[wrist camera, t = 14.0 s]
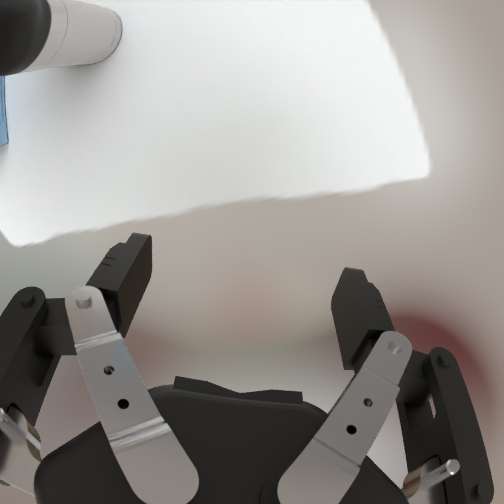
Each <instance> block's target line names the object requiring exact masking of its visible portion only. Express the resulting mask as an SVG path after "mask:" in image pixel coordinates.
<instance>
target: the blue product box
mask: <svg viewBox="0 0 504 504" xmlns="http://www.w3.org/2000/svg"><path fill="white" fill-rule="evenodd" d="M7 143H8V138H7V128H6V116H5V101H4V76H0V146H2V145H4V144H7Z"/></svg>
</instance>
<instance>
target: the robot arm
mask: <svg viewBox="0 0 504 504" xmlns="http://www.w3.org/2000/svg"><path fill="white" fill-rule="evenodd" d="M121 33H122V26H121V21H120V19H119V17H118V15H117V14H116V13H115V12H113V11H112V10H110V9H107V8H103V7H100V6H96V5H93V4H89V3H85V2H80V1H76V0H0V76H7V75H12V74H17V73H22V72H28V71H33V70H40V69H47V68H54V67H63V66H72V65H84V64H94V63H98V62H100V61H102V60H104V59H106V58H107V57H108V56H109V55H110V54H111V53H112V52H113V51H114V50H115V48H116V47H117V45H118V43H119V41H120V37H121ZM151 273H152V237H151V235H146V234H140V233H132V235H131V236H130V237H129V239H128V241H127V242H126V243H118V244H117V245H115V246H113V247H112V248H111V249H110V250H109V251H108V253H107V254H106V255H105V258H103V260H102V262H101V264H99V266H98V267H97V269H96V270H95V272H94V273H93V275H92V276H91V278H90V279H89V281H88V282H87V284H86V285H85V286H80V287H77V288H75V289H73V290H71V291H70V292H69V293H68V294H67V296H66V298H55V299H46V297H45V294H44V292H43V291H42V290H41V289H40V288H37V287H26V288H24V289H21V290H20V291H18V292H17V293H16V294H15V295H14V296H13V298H12V300H11V301H10V302H9V304H8V305H7V307H6V308H5V310H4V311H3V313H2V315H1V316H0V484H2V485H6V486H9V485H12V486H14V487H16V488H18V489H21V490H23V491H25V492H27V493H29V494H31V495H33V496H35V498H36V502H37V504H490V503H491V501H492V499H493V495H494V486H493V481H492V476H491V471H490V467H489V463H488V458H487V454H486V450H485V446H484V442H483V439H482V435H481V431H480V428H479V425H478V421H477V418H476V415H475V411H474V408H473V405H472V402H471V399H470V396H469V393H468V390H467V387H466V385H465V382H464V379H463V377H462V374H461V371H460V368H459V366H458V363H457V361H456V359H455V357H454V356H453V355H452V354H451V352H449V351H448V350H446V349H444V348H442V347H435V348H433V349H432V350H431V351H430V353H429V354H428V355H426V354H424V353H421V352H418V351H415V350H412V346H411V344H410V342H409V341H408V339H407V338H406V337H404V336H403V335H402V334H400V333H398V332H395V329H394V327H393V324H392V322H391V319H390V316H389V314H388V311H387V309H386V306H385V304H384V302H383V299H382V297H381V294H380V292H379V290H378V289H377V288H376V287H375V286H374V285H373V284H372V283H369V282H368V281H367V278H366V276H365V273H364V271H363V270H361V269H354V268H348V267H346V268H344V270H343V272H342V274H341V277H340V279H339V282H338V284H337V287H336V289H335V291H334V294H333V296H332V301H331V310H332V315H333V319H334V323H335V328H336V333H337V338H338V342H339V347H340V352H341V357H342V362H343V367H344V370H354V372H355V375H354V376H353V378H352V379H351V381H350V382H349V384H348V385H347V387H346V388H345V390H344V391H343V393H342V394H341V395H340V397H339V398H338V400H337V401H336V403H335V404H334V406H333V407H332V408H331V410H330V411H329V412H328V413H326V412H324V411H323V410H321V409H320V408H318V407H316V406H315V405H313V404H310V403H308V402H304V401H303V398H302V392H297V391H284V390H265V391H255V392H246V393H238V392H234V391H232V390H229V389H226V388H223V387H221V386H218V385H215V384H213V383H210V382H207V381H202V380H195V379H190V378H185V377H179V376H176V377H175V381H174V385H163V386H158V387H154V388H151V389H149V390H147V389H146V387H145V385H144V383H143V381H142V379H141V377H140V375H139V373H138V371H137V369H136V367H135V364H134V362H133V360H132V358H131V356H130V354H129V352H128V349H127V347H126V345H125V343H124V341H123V339H122V338H125V336H126V334H127V332H128V329H129V326H130V324H131V322H132V320H133V317H134V315H135V313H136V310H137V308H138V306H139V303H140V301H141V299H142V297H143V294H144V292H145V290H146V288H147V285H148V283H149V281H150V278H151ZM61 355H77V356H78V359H79V363H80V366H81V369H82V372H83V375H84V378H85V381H86V384H87V387H88V390H89V393H90V395H91V398H92V401H93V403H94V406H95V408H96V411H97V414H98V416H99V419H100V421H99V422H98V423H96V424H95V425H93V426H92V427H90V428H88V429H87V430H86V431H84V432H82V433H81V434H79V435H78V436H76V437H75V438H73V439H71V440H70V441H68V442H67V443H65V444H64V445H62V446H60V447H59V448H57V449H56V450H54V451H52V452H51V453H50V454H48V455H47V456H46V457H45V458H44V459H43V460H42V459H41V455H40V447H41V439H40V436H39V433H38V432H37V430H36V429H35V428H34V426H35V423H36V420H37V417H38V414H39V412H40V409H41V406H42V403H43V400H44V398H45V395H46V392H47V390H48V387H49V385H50V382H51V380H52V377H53V375H54V372H55V370H56V367H57V365H58V363H59V360H60V358H61ZM431 398H433V402H434V406H435V409H436V415H435V418H433V414H432V410H431V406H430V402H429V400H430V399H431ZM395 400H396V404H397V409H398V413H399V419H400V424H401V430H402V436H403V442H404V447H405V454H406V461H407V468H408V474H407V476H406V477H405V479H404V481H403V487H402V488H401V489H400V488H399V487H398V486H397V485H396V484H394V482H393V481H392V480H390V479H389V477H388V476H386V474H385V473H384V472H383V471H382V470H381V469H380V468H378V466H377V465H376V464H375V463H374V462H373V461H372V460H371V459H370V458H369V457H368V456H367V453H368V451H369V449H370V448H371V446H372V444H373V442H374V440H375V439H376V437H377V435H378V433H379V431H380V429H381V428H382V426H383V424H384V422H385V420H386V418H387V416H388V414H389V412H390V410H391V408H392V406H393V404H394V401H395Z"/></svg>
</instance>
